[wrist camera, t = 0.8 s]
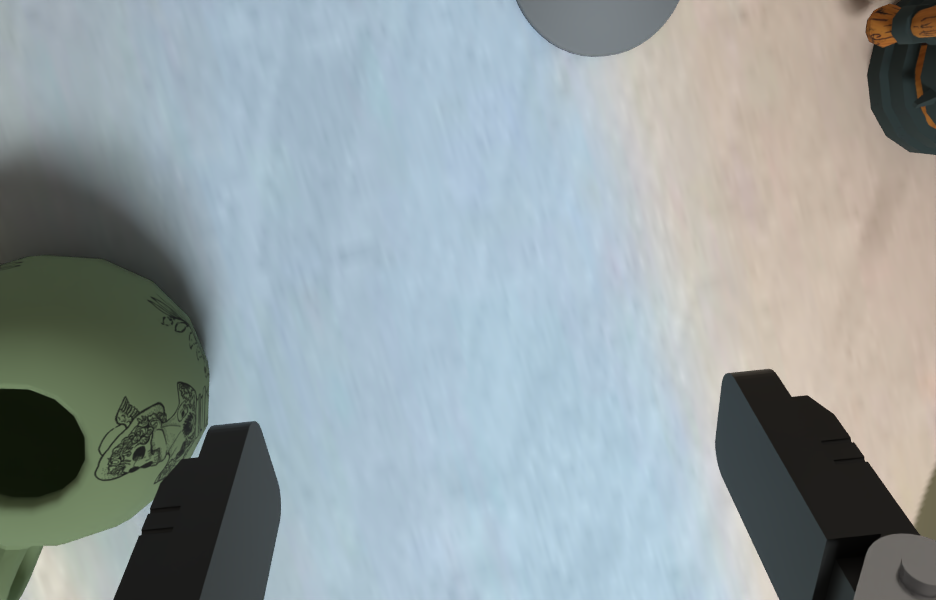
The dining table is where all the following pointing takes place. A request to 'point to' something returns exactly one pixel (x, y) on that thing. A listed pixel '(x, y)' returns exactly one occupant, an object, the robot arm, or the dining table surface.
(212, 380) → the dining table surface
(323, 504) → the dining table surface
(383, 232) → the dining table surface
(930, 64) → the mug
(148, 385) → the mug
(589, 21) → the coaster
